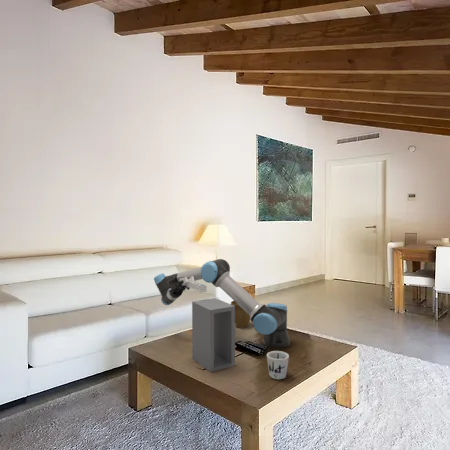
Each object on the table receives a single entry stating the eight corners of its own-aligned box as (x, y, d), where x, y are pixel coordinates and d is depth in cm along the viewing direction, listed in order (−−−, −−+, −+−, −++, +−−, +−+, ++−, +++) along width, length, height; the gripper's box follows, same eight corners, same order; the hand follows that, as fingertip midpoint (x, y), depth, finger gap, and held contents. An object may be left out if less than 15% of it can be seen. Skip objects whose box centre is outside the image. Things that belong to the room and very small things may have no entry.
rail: (179, 283, 219) (179, 278, 219) (185, 282, 221) (185, 277, 221) (200, 292, 197) (200, 286, 197) (206, 291, 199) (206, 285, 199)
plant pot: (257, 327, 247) (257, 303, 247) (238, 331, 240) (238, 306, 239) (244, 321, 260) (244, 298, 259) (226, 325, 252) (226, 301, 251)
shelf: (192, 358, 197) (192, 301, 195) (215, 353, 204) (215, 298, 202) (210, 372, 180) (210, 310, 179) (234, 365, 188) (234, 306, 186)
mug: (264, 379, 173) (264, 357, 173) (270, 366, 188) (270, 346, 187) (287, 382, 170) (287, 360, 170) (291, 368, 184) (291, 348, 184)
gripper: (188, 296, 233) (204, 283, 215) (163, 300, 224) (177, 286, 206) (185, 285, 236) (201, 271, 218) (160, 288, 227) (174, 273, 209)
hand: (189, 278), depth 212 cm, fingers closed on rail, 3 cm apart
